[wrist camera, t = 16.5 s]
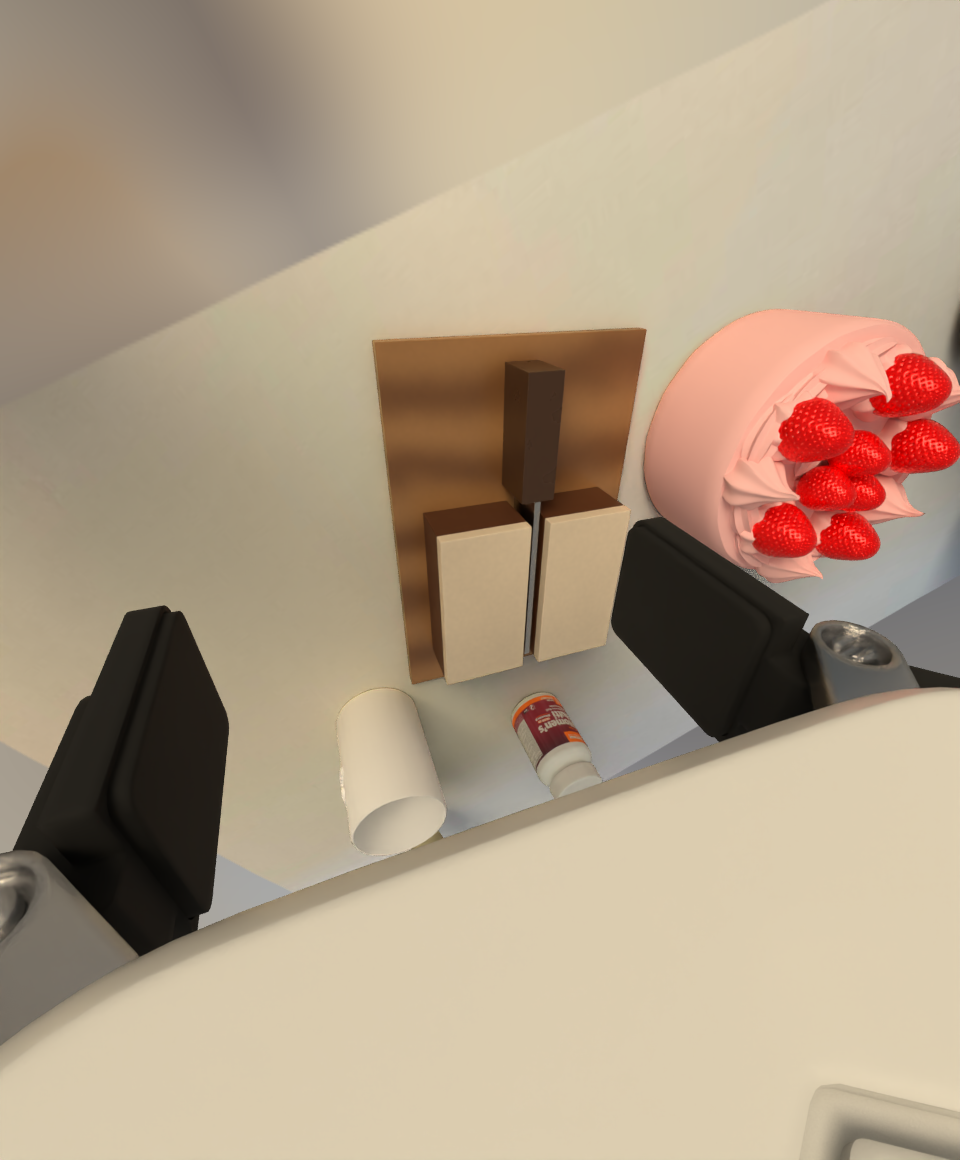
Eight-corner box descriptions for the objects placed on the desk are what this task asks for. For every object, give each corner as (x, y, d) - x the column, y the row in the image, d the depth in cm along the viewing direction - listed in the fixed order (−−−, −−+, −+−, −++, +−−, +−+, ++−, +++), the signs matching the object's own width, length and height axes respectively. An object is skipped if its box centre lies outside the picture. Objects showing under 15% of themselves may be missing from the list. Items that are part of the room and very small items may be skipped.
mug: (385, 770, 54) (408, 880, 44) (316, 721, 46) (326, 839, 37) (446, 730, 53) (483, 831, 44) (387, 674, 46) (416, 781, 37)
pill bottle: (560, 685, 56) (614, 765, 47) (552, 721, 59) (601, 802, 50) (511, 696, 54) (558, 782, 45) (506, 733, 57) (549, 819, 49)
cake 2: (523, 497, 39) (550, 523, 36) (597, 486, 41) (631, 510, 37) (516, 629, 47) (538, 662, 43) (579, 614, 49) (605, 645, 45)
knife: (504, 361, 33) (528, 372, 30) (538, 359, 34) (565, 369, 31) (497, 630, 46) (513, 657, 43) (522, 624, 47) (539, 650, 44)
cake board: (371, 340, 31) (374, 342, 30) (638, 327, 36) (646, 329, 35) (410, 677, 47) (412, 684, 46) (588, 633, 53) (593, 639, 52)
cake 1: (422, 512, 37) (439, 542, 33) (506, 499, 39) (532, 526, 35) (432, 648, 45) (447, 685, 41) (502, 632, 47) (522, 666, 43)
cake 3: (859, 334, 43) (1060, 360, 32) (752, 532, 53) (879, 605, 42) (699, 281, 36) (890, 291, 25) (608, 524, 45) (716, 610, 34)
